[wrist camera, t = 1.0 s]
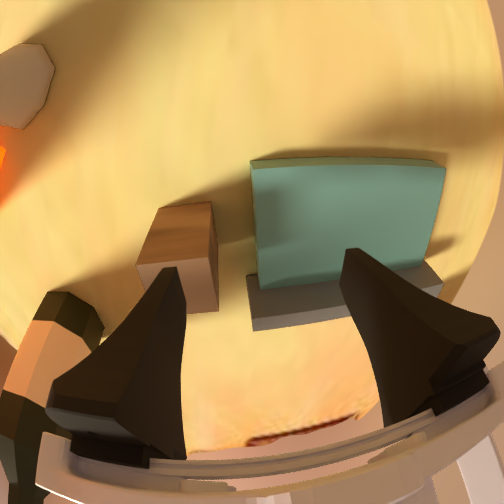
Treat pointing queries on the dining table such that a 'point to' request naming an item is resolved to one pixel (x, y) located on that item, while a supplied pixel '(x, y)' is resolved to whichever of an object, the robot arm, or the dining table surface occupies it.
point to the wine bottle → (41, 386)
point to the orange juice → (1, 155)
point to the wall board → (336, 230)
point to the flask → (23, 83)
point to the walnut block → (184, 253)
